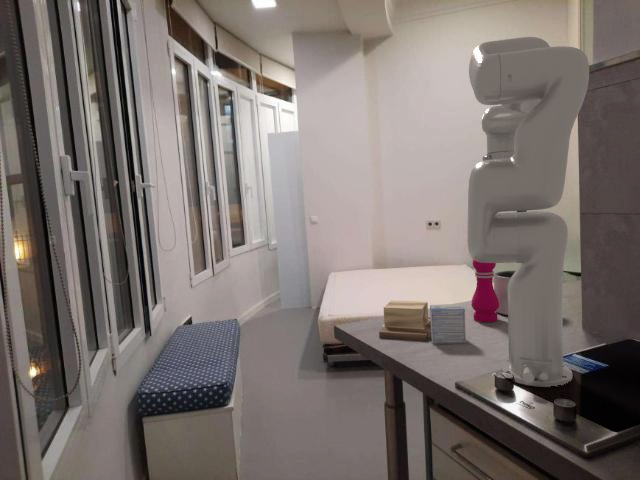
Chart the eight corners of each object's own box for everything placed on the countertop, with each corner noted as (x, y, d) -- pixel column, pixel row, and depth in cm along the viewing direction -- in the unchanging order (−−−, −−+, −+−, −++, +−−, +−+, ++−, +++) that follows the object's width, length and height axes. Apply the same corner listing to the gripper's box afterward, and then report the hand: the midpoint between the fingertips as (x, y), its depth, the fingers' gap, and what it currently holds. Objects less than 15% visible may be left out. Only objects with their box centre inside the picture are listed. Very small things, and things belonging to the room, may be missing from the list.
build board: (426, 340, 116) (426, 334, 116) (377, 337, 121) (377, 331, 121) (437, 323, 131) (437, 317, 130) (393, 320, 136) (393, 315, 135)
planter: (488, 307, 144) (487, 271, 143) (530, 306, 143) (530, 269, 142) (502, 318, 131) (501, 279, 130) (549, 316, 131) (548, 276, 130)
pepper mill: (492, 324, 126) (491, 250, 124) (467, 320, 131) (465, 249, 129) (503, 318, 132) (502, 246, 130) (478, 315, 136) (476, 246, 134)
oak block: (422, 328, 121) (421, 309, 121) (384, 325, 125) (383, 307, 125) (428, 319, 129) (427, 301, 128) (392, 318, 133) (391, 300, 132)
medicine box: (464, 338, 116) (463, 303, 116) (466, 344, 112) (465, 308, 111) (431, 338, 118) (429, 304, 117) (432, 344, 114) (430, 308, 113)
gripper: (477, 160, 118) (479, 228, 119) (542, 157, 120) (543, 224, 122) (464, 162, 125) (466, 227, 127) (525, 159, 127) (527, 223, 129)
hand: (504, 225), depth 124 cm, fingers open, 9 cm apart
